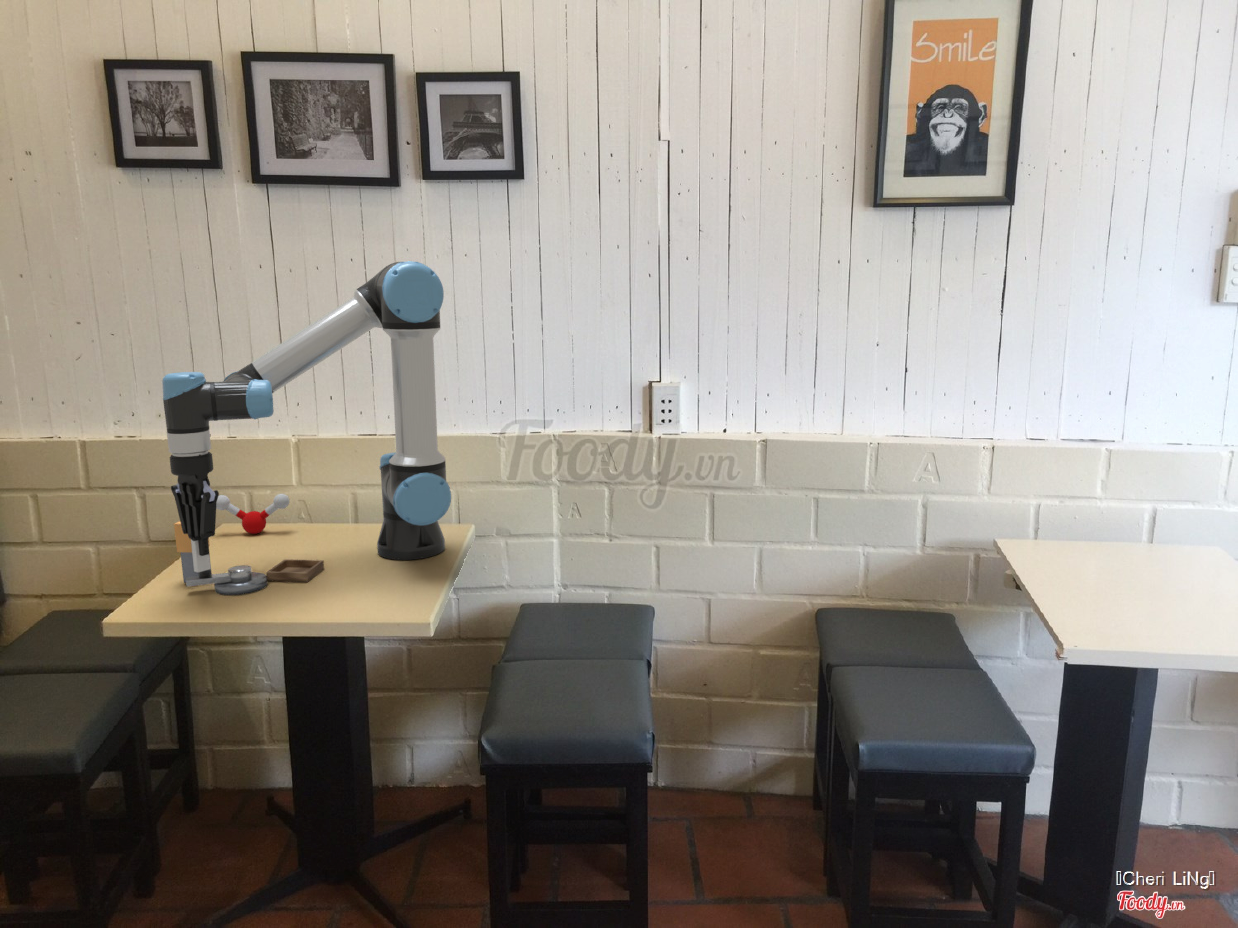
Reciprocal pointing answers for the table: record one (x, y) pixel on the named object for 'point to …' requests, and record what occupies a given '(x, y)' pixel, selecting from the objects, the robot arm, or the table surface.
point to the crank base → (242, 585)
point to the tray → (295, 570)
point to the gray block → (187, 565)
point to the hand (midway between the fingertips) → (202, 570)
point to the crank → (222, 576)
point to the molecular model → (253, 512)
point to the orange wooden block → (182, 539)
